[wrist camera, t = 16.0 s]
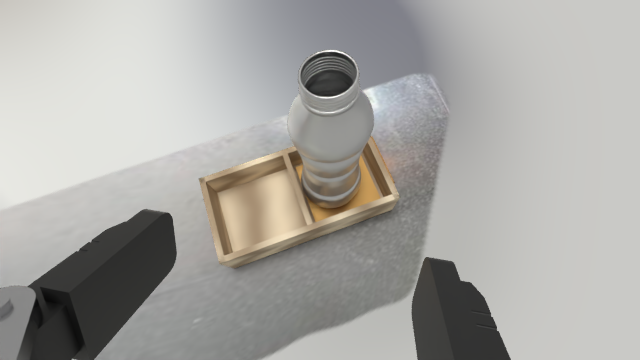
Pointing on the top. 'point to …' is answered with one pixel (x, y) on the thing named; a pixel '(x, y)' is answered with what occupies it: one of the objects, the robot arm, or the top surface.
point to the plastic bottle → (330, 127)
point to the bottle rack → (285, 205)
